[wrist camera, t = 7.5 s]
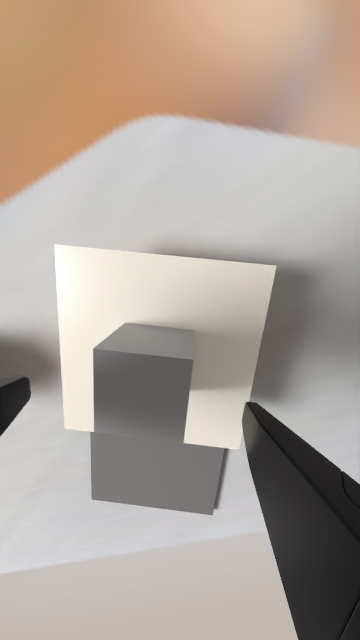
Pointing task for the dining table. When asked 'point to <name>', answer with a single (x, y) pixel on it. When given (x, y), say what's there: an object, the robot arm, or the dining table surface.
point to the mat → (155, 473)
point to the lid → (159, 343)
